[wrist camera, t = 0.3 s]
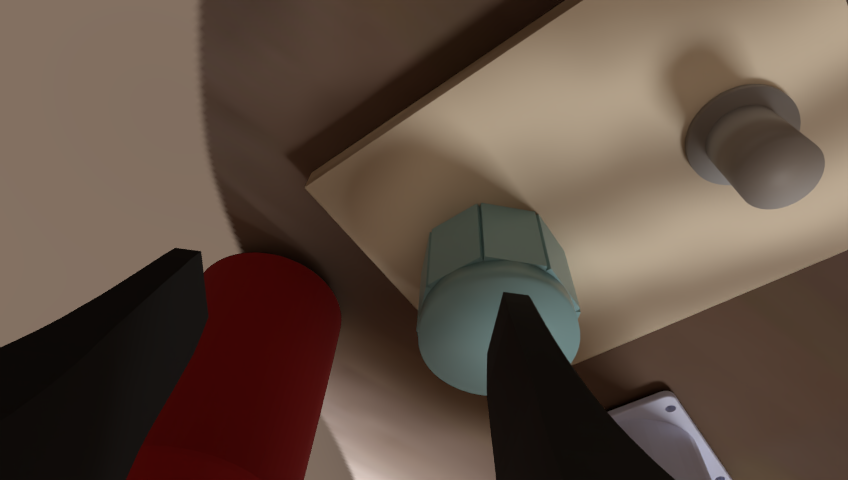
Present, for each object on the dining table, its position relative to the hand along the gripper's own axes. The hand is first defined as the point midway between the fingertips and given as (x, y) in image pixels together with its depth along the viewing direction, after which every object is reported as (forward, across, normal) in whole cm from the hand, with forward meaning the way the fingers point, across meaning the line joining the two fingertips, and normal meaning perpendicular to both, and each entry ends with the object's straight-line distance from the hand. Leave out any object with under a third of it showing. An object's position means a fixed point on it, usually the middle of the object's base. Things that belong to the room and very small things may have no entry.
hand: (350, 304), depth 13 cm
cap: (+8, -5, +4) cm, 10 cm away
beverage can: (+10, +5, +9) cm, 14 cm away
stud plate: (+10, -8, +1) cm, 13 cm away
